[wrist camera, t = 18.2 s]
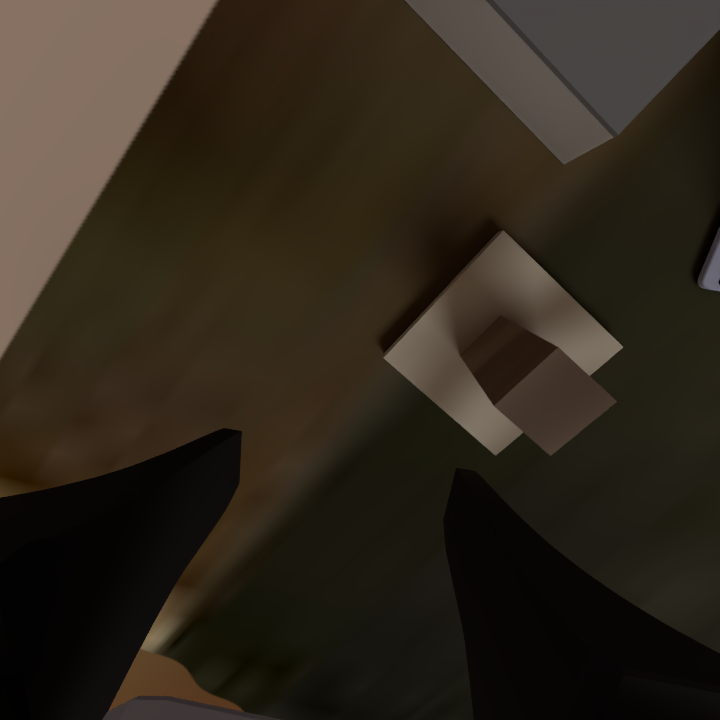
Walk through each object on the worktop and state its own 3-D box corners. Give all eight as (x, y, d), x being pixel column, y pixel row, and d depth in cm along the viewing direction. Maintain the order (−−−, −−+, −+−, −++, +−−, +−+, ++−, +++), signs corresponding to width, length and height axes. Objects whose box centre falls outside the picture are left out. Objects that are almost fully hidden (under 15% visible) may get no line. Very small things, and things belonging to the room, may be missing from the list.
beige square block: (612, 342, 20) (623, 347, 19) (491, 447, 22) (495, 455, 21) (497, 231, 19) (503, 230, 18) (383, 353, 21) (383, 358, 20)
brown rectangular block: (539, 351, 19) (616, 401, 13) (498, 390, 20) (550, 455, 13) (500, 315, 19) (558, 347, 12) (459, 356, 20) (493, 406, 13)
